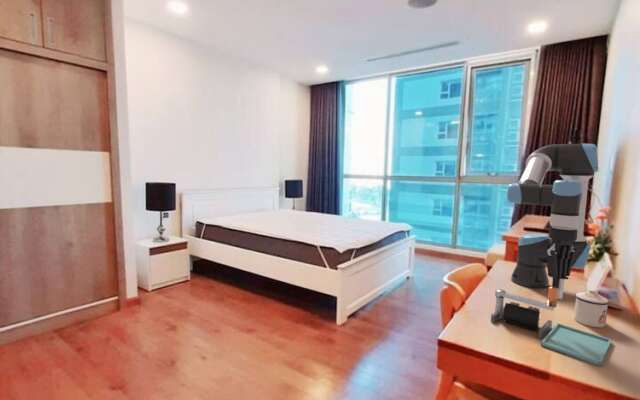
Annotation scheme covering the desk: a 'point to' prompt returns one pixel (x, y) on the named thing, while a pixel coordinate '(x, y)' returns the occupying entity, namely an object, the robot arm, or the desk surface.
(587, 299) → the teacup with lid
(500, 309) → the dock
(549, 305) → the crank handle
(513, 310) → the end cap
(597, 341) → the tray
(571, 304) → the desk surface
